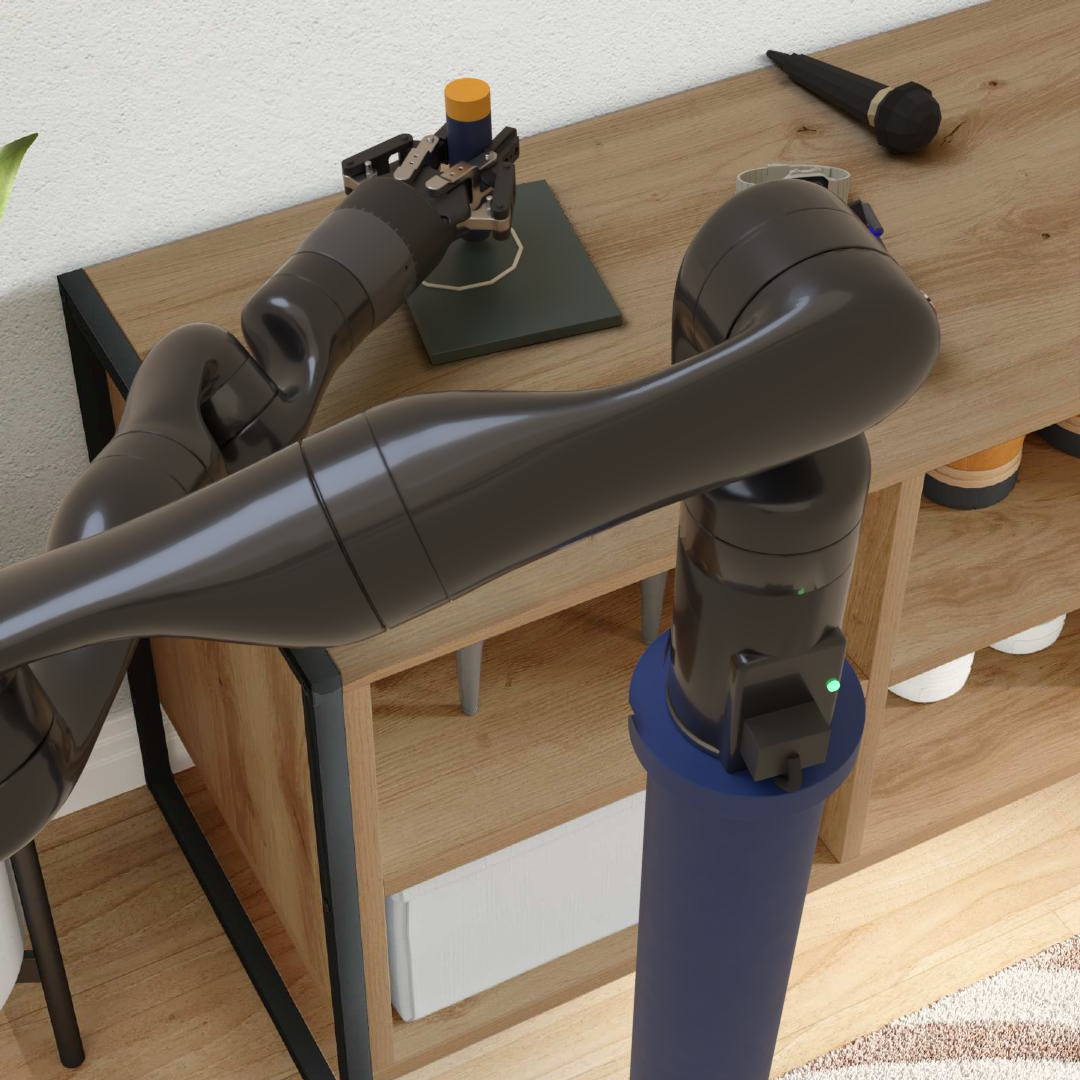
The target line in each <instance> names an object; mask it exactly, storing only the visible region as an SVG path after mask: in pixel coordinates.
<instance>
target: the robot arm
mask: <svg viewBox="0 0 1080 1080" xmlns="http://www.w3.org/2000/svg"><path fill="white" fill-rule="evenodd" d="M395 154H397V158H398V159H396V160H394V161H392V162H390V158H391V157H392V156H393V155H395ZM520 155H521V152H520V136H519V135H518V129H517V128H516V127H512V126H509V125H505V126H504V128H502V129H501V130H500V132H498V134H497V135H496V136H495V137H494V138H492V141H491V143H490V144H489V145H488V146H486V147H485V148H484V152H482V153H481V154H480V155H478V156H477V157H475V158H474V159H472V160H471V161H469V162H467V161H464V160H462V161H460V162H459V163H457V164H456V165H454V166H453V167H452V168H450V169H449V168H448V169H447V170H445V171H442V165H444V166H445V165H446V166H449V157H448V141H447V126H446V122H445V123H444V124H443V125H441V127H440V128H438V129H437V131H435V133H434V134H427V135H425V136H423V137H422V138H421V140H419V139H414V136H413V134H410V133H408V132H407V133H400V134H398V135H395V136H393V137H390V138H389V139H387V140H383V141H382V142H380V143H378V144H375V145H373V146H371V147H368V148H366V149H364V150H362V151H360V152H357V153H355V154H353V155H351V156H349V157H347V158H344V159H343V160H341V162H340V163H341V174H342V183H343V187H344V194H345V195H346V197H344V199H343V200H341V202H339V204H338V205H336V206H335V208H334V209H333V210H332V211H331V212H329V214H327V215H326V216H325V217H324V218H323V219H322V220H321V221H320V222H319V223H318V224H317V225H316V226H315V227H314V228H313V229H311V231H310V232H308V234H306V236H305V237H304V238H303V240H302V241H301V242H300V243H299V245H298V246H297V248H296V249H295V251H294V252H293V253H292V255H290V257H289V258H288V259H287V260H285V262H284V263H283V264H282V265H281V266H280V267H279V268H278V269H276V271H275V272H274V273H272V275H270V277H269V278H268V279H266V280H265V281H264V282H263V283H262V284H261V285H260V286H259V287H258V288H257V289H256V290H255V291H254V292H253V293H252V294H251V295H250V296H249V298H248V299H247V301H245V303H244V306H243V308H242V310H241V314H240V330H241V334H242V337H243V340H244V343H245V345H246V346H247V348H246V347H245V346H244V345H243V344H242V343H241V342H240V340H239V339H238V338H237V337H236V336H235V335H234V334H233V333H231V332H230V331H229V330H228V329H226V328H224V327H223V326H221V325H219V324H215V323H212V322H207V321H206V322H205V321H196V322H195V321H194V322H193V321H192V322H188V323H185V324H182V325H179V326H177V327H175V328H173V329H171V330H170V331H168V332H167V333H165V334H164V335H163V336H162V337H160V338H159V339H158V340H157V341H156V342H155V343H154V345H153V346H152V347H150V349H149V350H148V351H147V353H146V355H145V356H144V358H143V359H142V361H141V362H140V364H139V365H138V368H137V370H136V372H135V374H134V376H133V378H132V381H131V383H130V387H129V389H128V392H127V395H126V399H125V402H124V406H123V410H122V414H121V417H120V420H119V423H118V425H117V428H116V431H115V433H114V436H113V437H112V438H111V440H110V441H109V442H108V443H107V444H106V445H105V446H104V447H103V448H102V449H101V451H100V452H99V453H98V454H97V455H96V456H95V457H94V459H93V460H92V461H91V462H90V463H89V465H87V466H86V468H84V470H83V471H82V472H81V473H80V474H79V476H78V477H77V478H76V479H75V480H74V481H73V483H72V484H71V485H70V487H69V488H68V490H67V491H66V493H65V494H64V496H63V497H62V500H61V501H60V503H59V505H58V508H57V510H56V512H55V514H54V517H53V520H52V522H51V524H50V529H49V532H48V536H47V541H46V545H45V549H44V552H43V553H41V554H38V555H36V556H32V557H30V558H27V559H24V560H22V561H19V562H16V563H14V564H11V565H8V566H6V567H3V568H0V863H2V862H3V861H5V860H8V859H9V858H12V856H13V855H15V854H16V853H18V852H19V851H20V850H22V849H23V848H24V847H26V846H27V845H29V844H30V843H31V842H32V841H33V840H34V839H35V838H36V837H38V835H39V834H40V833H42V832H43V830H45V828H47V826H48V825H49V824H50V822H52V820H53V819H54V818H55V816H56V815H57V814H58V812H59V811H60V810H61V809H62V807H63V806H64V805H65V803H66V802H67V800H68V798H69V797H70V795H71V794H72V793H73V791H74V789H75V787H76V785H77V783H78V782H79V780H80V778H81V776H82V774H83V773H84V770H85V768H86V766H87V764H88V762H89V759H90V757H91V755H92V752H93V750H94V748H95V746H96V743H97V741H98V738H99V737H100V734H101V731H102V729H103V727H104V725H105V722H106V720H107V718H108V715H109V713H110V710H111V709H112V706H113V704H114V701H115V699H116V697H117V695H118V692H119V691H120V688H121V686H122V684H123V681H124V679H125V676H126V674H127V672H128V669H129V667H130V664H131V662H132V659H133V657H134V654H135V652H136V650H137V647H138V644H139V642H140V641H141V639H156V638H158V639H159V638H163V639H165V638H169V639H181V640H183V639H184V640H198V641H207V642H208V641H209V642H215V643H216V642H218V643H225V644H236V645H246V646H256V647H265V648H266V647H267V648H282V649H298V650H300V649H302V650H304V649H305V650H306V649H307V650H311V649H312V650H314V649H316V650H318V649H331V648H332V649H334V648H341V647H347V646H351V645H354V644H358V643H361V642H365V641H367V640H371V638H374V637H377V636H380V635H382V634H384V633H386V632H387V631H388V629H389V630H393V629H395V628H397V627H399V626H402V625H404V624H406V623H408V622H411V621H412V620H415V619H417V618H420V617H422V616H423V615H425V614H428V613H431V612H432V611H435V610H436V609H439V608H441V607H443V606H445V605H447V604H449V603H452V602H455V601H456V600H458V599H461V598H462V597H464V596H466V595H468V594H470V593H471V592H474V591H475V590H477V589H479V588H481V587H483V586H485V585H487V584H489V583H491V582H493V581H495V580H497V579H499V578H502V577H503V576H505V575H508V574H509V573H511V572H514V571H516V570H518V569H520V568H523V567H525V566H527V565H530V564H531V563H535V562H537V561H538V560H540V559H544V558H546V557H548V556H550V555H552V554H555V553H557V552H559V551H561V550H564V549H566V548H568V547H570V546H573V545H575V544H578V543H580V542H582V541H585V540H587V539H589V538H592V537H594V536H596V535H599V534H602V533H603V532H606V531H609V530H610V529H613V528H616V527H618V526H621V525H622V524H625V523H627V522H631V521H632V520H634V519H638V518H640V517H642V516H645V515H647V514H649V513H652V512H655V511H656V510H660V509H663V508H665V507H668V506H672V505H674V504H676V503H679V502H680V504H679V517H678V527H677V543H676V557H675V558H676V559H675V571H674V587H673V599H672V616H671V627H670V629H671V630H670V634H669V637H668V641H667V644H666V648H665V651H664V662H663V668H664V664H665V661H666V657H667V654H668V650H669V647H670V664H669V673H668V676H667V683H666V705H667V709H668V713H669V715H670V718H671V720H672V722H673V724H674V725H675V727H676V728H677V730H678V731H679V732H680V733H681V735H682V736H683V737H684V738H685V739H686V740H687V741H688V742H689V743H691V744H692V745H693V746H694V747H696V748H697V749H699V750H700V751H702V752H704V753H706V754H708V755H710V756H712V757H714V758H717V759H718V760H719V761H720V762H721V764H722V765H723V768H724V770H725V771H726V772H727V773H729V774H733V773H737V772H740V771H744V770H748V769H749V771H750V773H751V775H752V777H753V779H754V781H755V782H756V781H759V780H763V779H766V778H770V777H774V776H776V777H775V784H776V785H777V786H778V787H780V788H782V789H784V790H785V791H787V792H795V791H797V790H798V789H799V788H800V786H801V783H802V770H801V769H802V768H806V767H809V766H813V765H816V764H820V763H824V762H825V759H826V754H827V749H828V744H829V739H830V733H831V724H832V719H833V714H834V709H835V704H836V699H837V694H838V689H839V687H840V678H841V673H842V668H843V663H844V658H846V654H847V653H846V652H847V647H848V640H847V639H848V638H847V637H846V635H845V634H844V632H843V625H844V621H845V615H846V609H847V604H848V599H849V593H850V590H851V589H850V588H851V583H852V578H853V572H854V567H855V562H856V558H857V557H856V556H857V552H858V548H859V543H860V537H861V533H862V528H863V527H862V526H863V522H864V516H865V511H866V506H867V502H868V496H869V492H870V491H869V490H870V487H871V486H870V485H871V478H872V458H871V457H872V456H871V455H872V454H871V450H870V447H869V443H868V440H867V436H866V433H865V432H866V431H868V430H870V429H871V428H874V427H876V426H877V425H879V424H880V423H881V422H883V421H884V420H885V419H887V418H888V417H890V416H891V415H893V414H894V413H895V412H898V410H899V409H900V408H902V407H903V406H904V405H905V404H906V403H907V402H908V401H909V400H910V399H911V398H912V397H913V396H914V395H915V394H916V393H917V392H918V391H919V390H920V389H921V387H923V385H924V383H925V382H926V381H927V379H928V377H929V376H930V374H931V373H932V372H933V369H934V367H935V365H936V362H937V360H938V356H939V354H940V350H941V349H940V348H941V343H942V334H941V333H942V332H941V326H940V322H939V320H938V315H937V316H936V315H935V313H934V311H933V309H932V307H931V305H930V304H929V302H928V300H927V299H926V298H925V296H924V295H923V293H922V292H921V291H920V290H921V289H920V288H919V287H918V285H917V284H916V283H915V281H914V280H913V278H912V277H910V275H909V274H908V273H907V271H906V269H904V268H903V267H902V266H901V265H900V264H899V263H898V261H897V260H896V258H894V257H893V256H892V255H891V253H890V252H889V251H888V249H887V248H886V249H887V250H886V249H885V248H884V247H883V245H882V244H881V243H880V242H879V241H878V240H877V238H876V237H875V236H874V235H873V234H872V233H871V231H870V230H869V229H868V228H867V227H866V225H865V224H864V223H863V222H862V221H861V220H860V218H859V217H858V216H857V215H856V214H855V213H854V212H853V211H852V209H851V208H850V207H849V206H848V203H847V204H846V203H845V202H844V201H843V200H842V199H841V198H839V197H838V196H837V195H836V194H834V193H833V192H832V191H830V190H828V189H827V188H825V187H823V186H821V185H818V184H816V183H812V182H809V181H806V180H800V179H791V178H785V179H774V180H768V181H765V182H761V183H758V184H755V185H753V186H750V187H748V188H746V189H744V190H742V191H740V192H738V193H736V192H735V193H736V194H733V195H732V196H730V197H729V198H727V199H726V200H725V201H723V202H721V204H720V205H718V206H717V208H715V209H714V210H713V211H712V212H711V213H710V215H709V216H708V217H707V218H706V219H705V220H704V221H703V223H702V224H701V225H700V227H699V228H698V230H697V231H696V233H695V234H694V236H693V237H692V239H691V241H690V243H689V244H688V247H687V249H686V251H685V253H684V255H683V258H682V260H681V263H680V266H679V270H678V272H677V277H676V281H675V285H674V291H673V299H672V310H671V311H672V313H671V334H670V335H671V339H670V340H671V341H670V353H671V354H670V365H669V366H667V367H663V368H661V369H658V370H655V371H653V372H650V373H648V374H647V373H646V374H645V375H643V376H638V377H636V378H632V379H629V380H626V381H622V382H618V383H614V384H609V385H605V386H604V385H603V386H601V387H600V386H599V387H593V388H586V389H577V390H508V389H507V390H505V389H499V390H498V389H494V390H493V389H458V390H457V389H453V390H451V389H450V390H449V389H448V390H439V391H427V392H417V393H412V394H408V395H403V396H399V397H397V398H393V399H389V400H387V401H385V402H381V403H379V404H376V405H374V406H371V407H369V408H367V409H366V410H364V411H361V412H359V413H356V414H354V415H352V416H350V417H348V418H346V419H342V420H341V421H339V422H337V423H334V424H332V425H330V426H328V427H325V428H323V429H321V430H319V431H317V432H314V433H312V434H310V435H308V434H309V432H310V430H311V427H312V424H313V422H314V419H315V416H316V414H317V412H318V408H319V406H320V405H321V402H322V399H323V397H324V395H325V393H326V391H327V389H328V387H329V386H330V384H331V381H332V379H333V378H334V376H335V374H336V372H337V371H338V370H339V368H341V366H342V365H343V364H344V363H345V362H346V360H347V359H349V357H350V356H351V355H352V354H353V353H354V352H355V351H356V350H357V348H359V346H360V345H361V344H362V343H363V342H364V341H365V340H366V339H367V338H368V337H369V335H371V334H372V333H373V332H374V331H375V330H377V329H378V328H379V327H380V326H382V325H383V324H385V323H386V322H387V321H388V320H389V319H390V318H391V317H392V316H393V315H394V314H395V313H396V312H397V311H398V310H399V309H400V308H401V306H402V305H403V304H404V303H405V302H406V300H407V298H408V297H409V296H410V295H411V294H412V293H413V292H414V291H415V290H416V289H417V288H418V287H419V285H420V284H421V283H422V282H423V281H424V280H425V279H426V278H427V277H428V276H429V275H430V273H431V272H432V271H433V270H434V269H435V268H436V267H437V266H438V265H439V263H440V262H441V261H442V259H443V257H444V255H445V253H446V252H447V250H448V248H449V246H450V244H451V243H452V242H454V241H456V240H458V239H460V238H463V237H465V236H466V235H468V234H469V232H470V231H471V229H473V230H492V237H493V238H494V239H495V240H498V241H504V240H507V239H508V238H509V237H510V232H511V225H512V219H513V213H514V206H515V200H516V185H517V180H516V177H517V176H516V164H515V163H516V161H517V160H518V159H519V158H520ZM480 175H481V178H480V179H479V177H480ZM492 190H494V192H493V197H492V196H487V197H486V202H485V203H483V204H482V206H481V207H480V208H479V209H478V210H475V209H476V208H477V207H478V206H479V204H480V202H481V199H482V198H483V197H484V196H486V195H487V194H488V193H490V192H491V191H492ZM473 210H474V211H473ZM247 349H248V350H247ZM784 773H788V775H789V777H788V776H786V775H783V774H784Z"/></svg>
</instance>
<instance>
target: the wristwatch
mask: <svg viewBox="0 0 1080 1080" xmlns="http://www.w3.org/2000/svg"><path fill="white" fill-rule="evenodd" d="M851 177H852V173H851V172H849V171H848V170H845V169H843V168H839V167H835V166H828V165H821V164H808V163H807V164H803V163H802V164H798V163H797V164H789V163H788V164H787V163H784V162H783V163H768V164H767V165H766V166H764V167H756V168H751V169H748V170H745V171H742V172H740V173H738V175H737V176H736V182H735V194H736V193H738V192H740V191H742V190H744V189H746V188H748V187H750V186H753V185H755V184H758V183H761V182H765V181H768V180H774V179H785V178H791V179H800V180H806V181H809V182H812V183H816V184H818V185H821V186H823V187H825V188H827V189H828V190H830V191H832V192H833V193H834V194H836V195H837V196H838V197H839V198H841V199H842V200H843V201H844V202H845V203H846V204H847V205H848V202H849V193H850V186H851ZM735 194H734V195H735Z"/></svg>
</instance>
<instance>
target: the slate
mask: <svg viewBox="0 0 1080 1080" xmlns="http://www.w3.org/2000/svg"><path fill="white" fill-rule="evenodd" d="M405 302H406V304H407V307H408V309H409V311H410V314H411V316H412V318H413V321H414V323H415V325H416V328H417V331H418V333H419V335H420V338H421V341H422V342H423V345H424V347H425V350H426V352H427V355H428V357H429V360H430V363H431V364H432V366H436V365H440V364H441V365H442V364H445V363H449V362H455V361H459V360H464V359H469V358H475V357H478V356H479V357H480V356H482V355H483V356H484V355H488V354H491V353H492V354H493V353H497V352H502V351H506V350H510V349H516V348H520V347H525V346H529V345H534V344H539V343H543V342H548V341H554V340H558V339H562V338H566V337H571V336H576V335H580V334H585V333H590V332H595V331H600V330H604V329H608V328H613V327H617V326H621V325H622V313H621V311H620V309H619V307H618V306H617V304H616V302H615V301H614V298H613V297H612V295H611V293H610V292H609V290H608V288H607V287H606V284H605V283H604V281H603V280H602V277H601V276H600V273H599V272H598V271H597V268H596V267H595V265H594V262H593V261H592V260H591V258H590V256H589V254H588V253H587V251H586V249H585V247H584V246H583V244H582V242H581V240H580V239H579V237H578V235H577V233H576V231H575V230H574V228H573V226H572V224H571V223H570V221H569V218H568V217H567V215H566V213H565V212H564V209H563V208H562V206H561V205H560V203H559V201H558V199H557V197H556V196H555V194H554V192H553V191H552V189H551V187H550V185H549V184H548V182H547V180H546V179H545V178H544V179H539V180H534V181H528V182H523V183H518V184H517V183H516V200H515V206H514V213H513V219H512V225H511V232H510V237H509V238H508V239H507V240H504V241H498V240H495V239H494V238H493V237H492V231H491V234H490V236H489V237H488V238H487V239H485V240H483V241H480V242H469V241H465V240H463V239H462V238H460V239H458V240H456V241H454V242H452V243H451V244H450V246H449V248H448V250H447V252H446V253H445V255H444V257H443V259H442V261H441V262H440V263H439V265H438V266H437V267H436V268H435V269H434V270H433V271H432V272H431V273H430V275H429V276H428V277H427V278H426V279H425V280H424V281H423V282H422V283H421V284H420V285H419V287H418V288H417V289H416V290H415V291H414V292H413V293H412V294H411V295H410V296H409V297H408V298H407V300H406V301H405Z"/></svg>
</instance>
